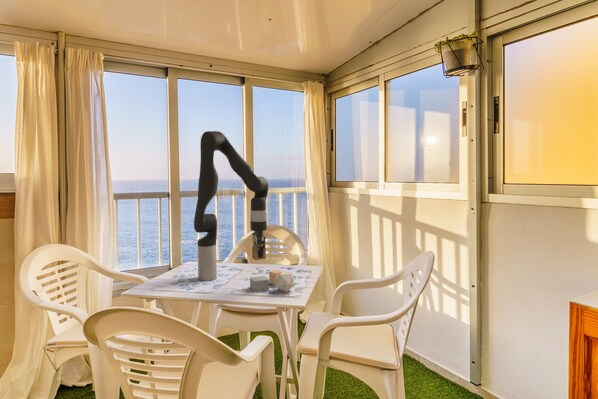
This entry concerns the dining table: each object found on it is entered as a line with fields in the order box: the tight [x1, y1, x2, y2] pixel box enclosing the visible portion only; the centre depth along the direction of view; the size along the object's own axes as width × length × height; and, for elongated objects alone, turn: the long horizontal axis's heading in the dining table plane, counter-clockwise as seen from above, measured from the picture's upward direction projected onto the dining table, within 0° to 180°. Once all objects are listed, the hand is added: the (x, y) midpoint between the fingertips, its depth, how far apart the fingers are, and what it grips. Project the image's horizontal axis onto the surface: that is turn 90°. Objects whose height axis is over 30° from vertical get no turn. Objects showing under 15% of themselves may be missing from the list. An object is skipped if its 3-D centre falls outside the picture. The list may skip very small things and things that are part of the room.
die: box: [274, 271, 296, 293], centre depth 169 cm, size 8×9×10 cm
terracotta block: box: [268, 269, 284, 287], centre depth 180 cm, size 5×5×6 cm
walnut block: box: [251, 244, 267, 261], centre depth 171 cm, size 5×5×6 cm
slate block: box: [249, 275, 270, 293], centre depth 172 cm, size 7×7×5 cm
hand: (259, 256), depth 171 cm, fingers closed on walnut block, 5 cm apart
